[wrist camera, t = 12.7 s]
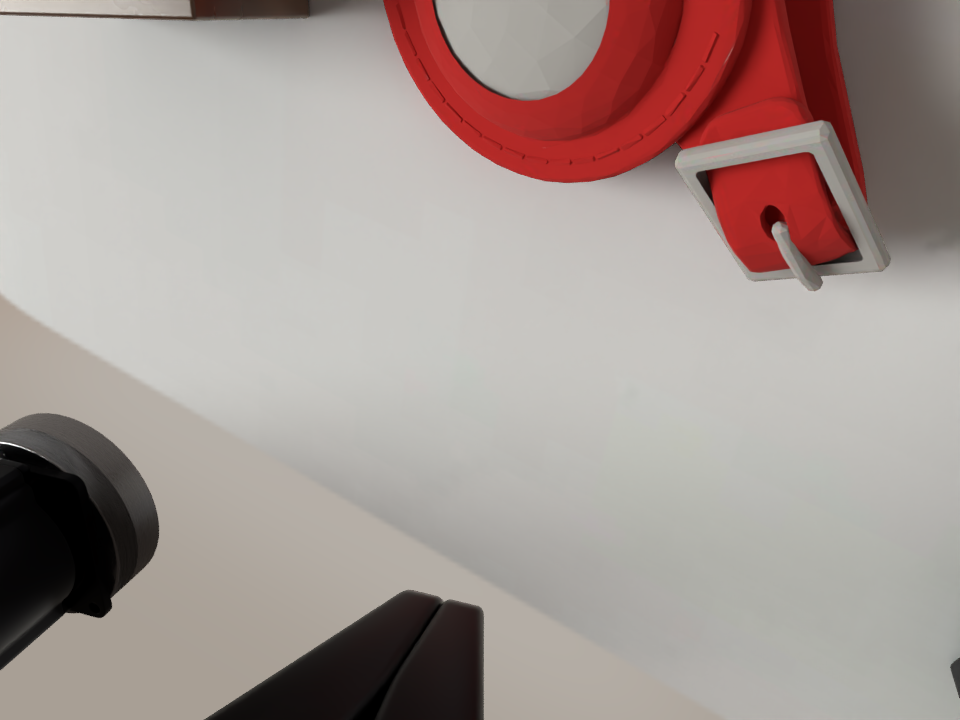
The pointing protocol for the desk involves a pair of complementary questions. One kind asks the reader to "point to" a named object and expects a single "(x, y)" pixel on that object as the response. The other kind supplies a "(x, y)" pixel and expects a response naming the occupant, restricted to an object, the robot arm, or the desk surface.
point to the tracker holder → (664, 110)
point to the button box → (956, 674)
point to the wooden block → (160, 9)
